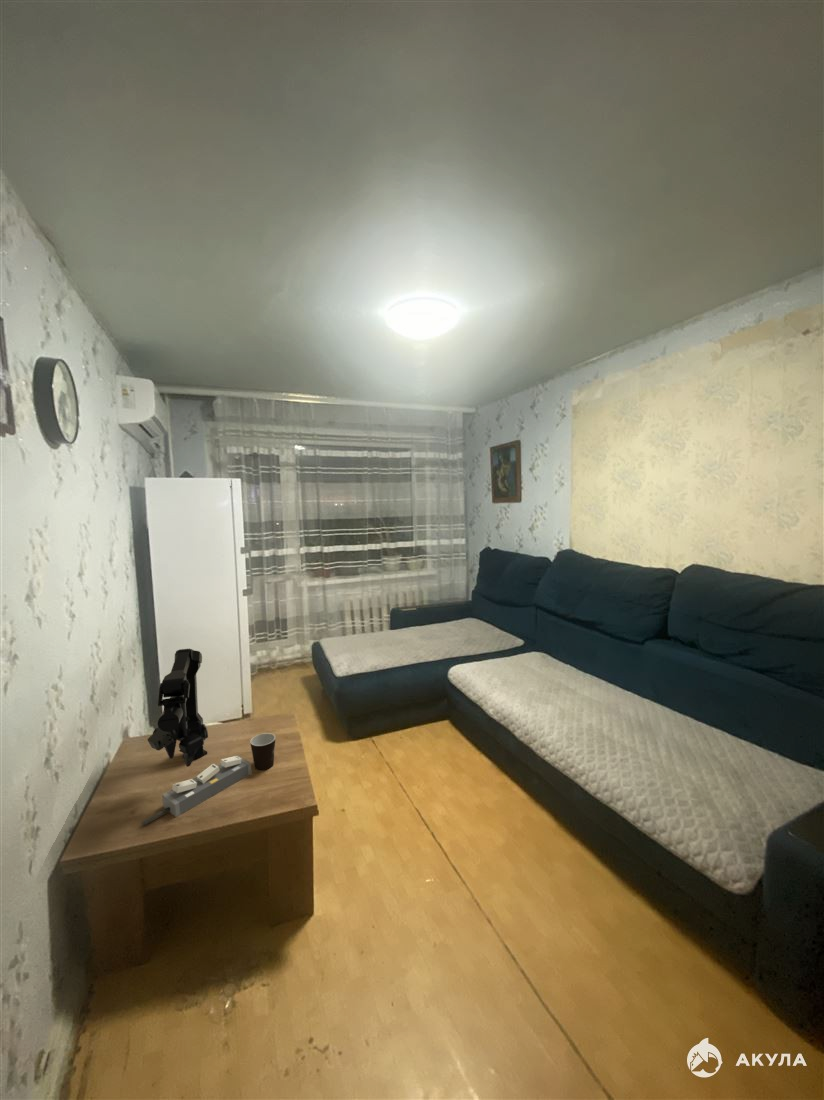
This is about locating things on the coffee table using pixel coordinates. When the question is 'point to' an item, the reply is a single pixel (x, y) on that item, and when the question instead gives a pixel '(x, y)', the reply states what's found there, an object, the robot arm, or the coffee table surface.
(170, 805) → the power strip
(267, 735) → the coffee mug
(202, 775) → the block
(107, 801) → the coffee table surface
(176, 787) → the white rectangular block
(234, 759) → the block
